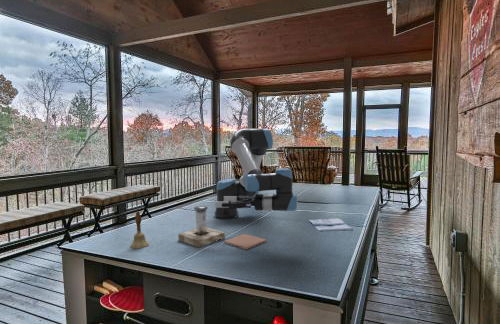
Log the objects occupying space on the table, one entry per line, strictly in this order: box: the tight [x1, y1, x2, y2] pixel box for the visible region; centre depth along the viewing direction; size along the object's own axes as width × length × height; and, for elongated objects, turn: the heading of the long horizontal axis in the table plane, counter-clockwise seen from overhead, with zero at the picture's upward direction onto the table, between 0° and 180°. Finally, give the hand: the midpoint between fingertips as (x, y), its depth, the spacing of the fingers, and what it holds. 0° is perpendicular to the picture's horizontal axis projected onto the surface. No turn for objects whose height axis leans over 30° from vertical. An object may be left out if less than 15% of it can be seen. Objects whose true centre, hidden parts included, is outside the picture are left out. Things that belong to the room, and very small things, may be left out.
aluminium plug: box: [193, 205, 208, 236], centre depth 148 cm, size 6×6×16 cm
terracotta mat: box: [223, 233, 267, 250], centre depth 142 cm, size 14×14×1 cm
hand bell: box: [129, 211, 150, 249], centre depth 140 cm, size 8×8×16 cm
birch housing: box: [177, 227, 226, 248], centre depth 148 cm, size 16×16×3 cm
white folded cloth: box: [308, 217, 354, 232], centre depth 168 cm, size 19×20×2 cm
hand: (219, 201), depth 144 cm, fingers open, 13 cm apart
